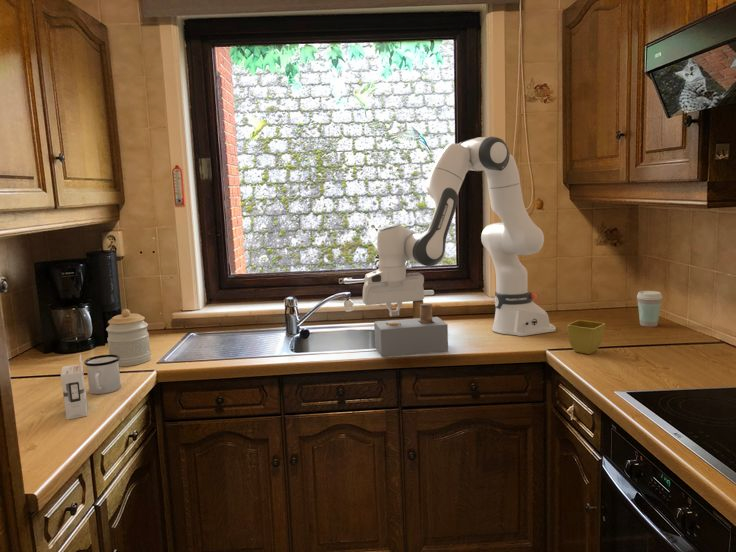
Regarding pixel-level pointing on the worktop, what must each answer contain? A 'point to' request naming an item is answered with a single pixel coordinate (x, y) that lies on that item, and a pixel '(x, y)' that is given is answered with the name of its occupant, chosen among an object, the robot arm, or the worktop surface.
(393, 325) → the beech dowel
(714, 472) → the worktop surface
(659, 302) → the coffee cup
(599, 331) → the flower pot
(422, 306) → the walnut dowel
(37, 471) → the worktop surface
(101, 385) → the mug
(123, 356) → the jar
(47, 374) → the worktop surface
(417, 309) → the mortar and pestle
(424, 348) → the socket block
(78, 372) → the ink box
